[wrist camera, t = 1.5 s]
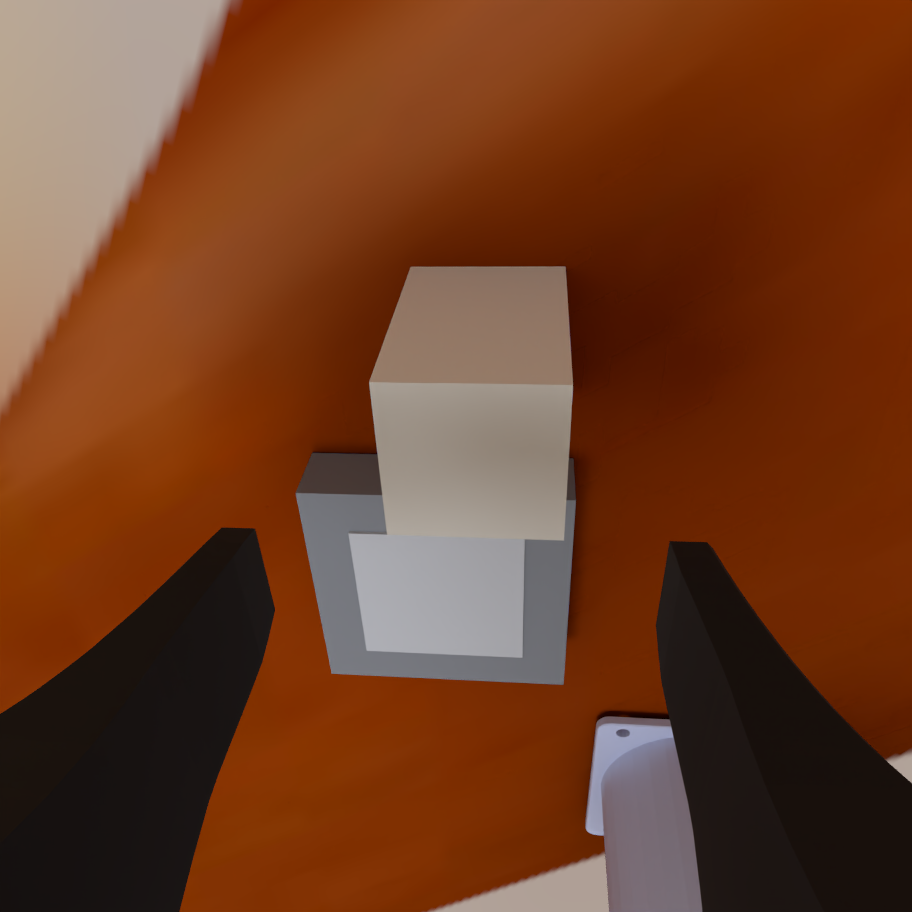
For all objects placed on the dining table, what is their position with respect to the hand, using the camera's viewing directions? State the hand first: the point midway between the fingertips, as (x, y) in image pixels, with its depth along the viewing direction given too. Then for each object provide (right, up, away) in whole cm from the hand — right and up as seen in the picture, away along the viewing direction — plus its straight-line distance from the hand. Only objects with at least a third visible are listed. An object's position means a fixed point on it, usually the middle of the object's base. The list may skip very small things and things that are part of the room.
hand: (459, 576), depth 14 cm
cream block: (+1, +5, +8) cm, 9 cm away
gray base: (0, -1, +12) cm, 12 cm away
